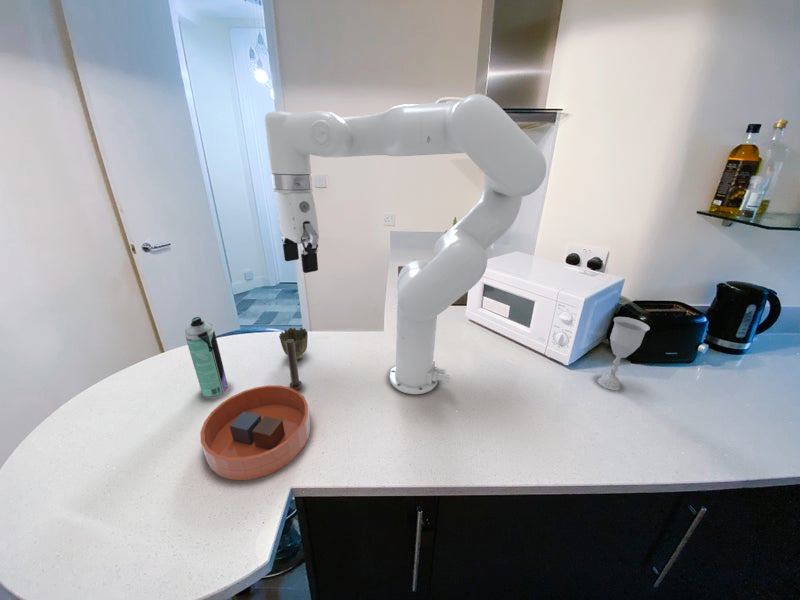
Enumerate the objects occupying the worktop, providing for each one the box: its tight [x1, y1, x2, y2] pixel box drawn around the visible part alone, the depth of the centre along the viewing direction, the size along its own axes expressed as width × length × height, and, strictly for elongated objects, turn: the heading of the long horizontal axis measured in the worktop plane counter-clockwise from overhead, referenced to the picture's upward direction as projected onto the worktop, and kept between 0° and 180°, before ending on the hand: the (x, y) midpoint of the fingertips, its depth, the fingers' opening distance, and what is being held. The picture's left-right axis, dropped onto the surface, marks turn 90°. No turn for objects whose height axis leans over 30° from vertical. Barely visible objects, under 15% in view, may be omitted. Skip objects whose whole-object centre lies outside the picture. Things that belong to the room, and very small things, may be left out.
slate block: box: [230, 411, 261, 445], centre depth 63 cm, size 4×4×4 cm
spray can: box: [184, 316, 229, 399], centre depth 72 cm, size 6×6×20 cm
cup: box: [278, 327, 308, 361], centre depth 88 cm, size 8×7×8 cm
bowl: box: [200, 384, 311, 481], centre depth 63 cm, size 19×19×6 cm
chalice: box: [597, 316, 651, 391], centre depth 79 cm, size 7×7×18 cm
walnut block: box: [252, 416, 285, 450], centre depth 62 cm, size 4×4×4 cm
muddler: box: [286, 339, 303, 392], centre depth 75 cm, size 3×3×14 cm
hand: (300, 265), depth 70 cm, fingers open, 9 cm apart
